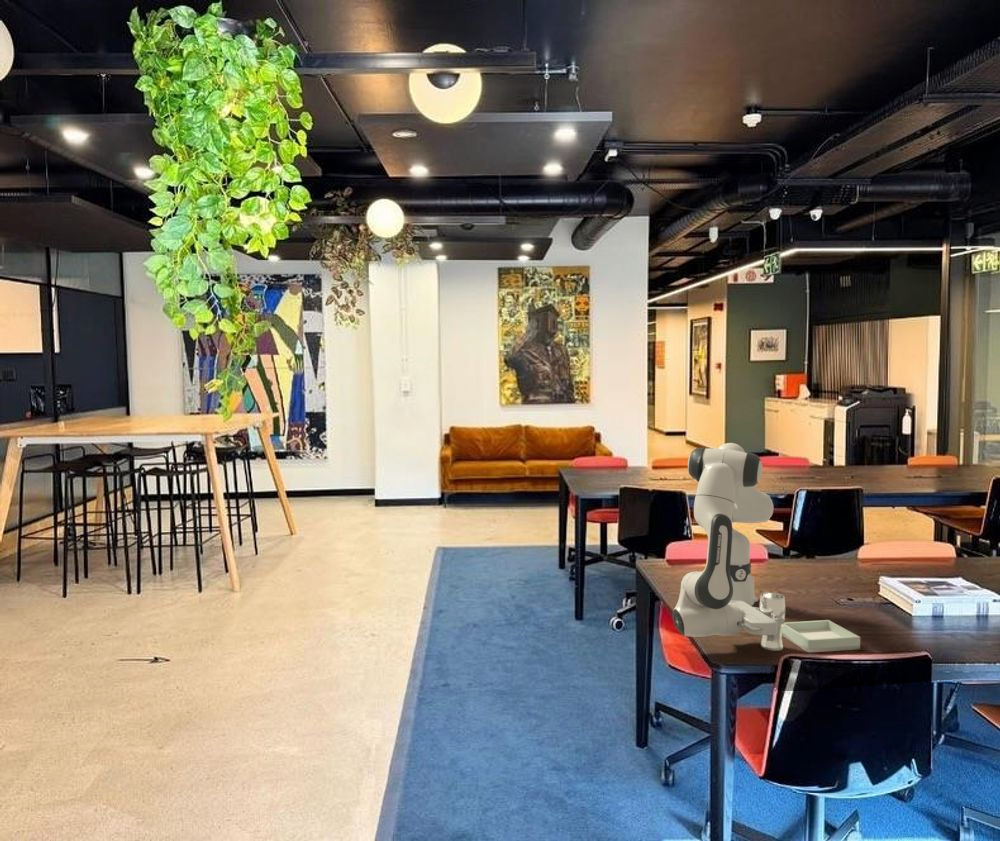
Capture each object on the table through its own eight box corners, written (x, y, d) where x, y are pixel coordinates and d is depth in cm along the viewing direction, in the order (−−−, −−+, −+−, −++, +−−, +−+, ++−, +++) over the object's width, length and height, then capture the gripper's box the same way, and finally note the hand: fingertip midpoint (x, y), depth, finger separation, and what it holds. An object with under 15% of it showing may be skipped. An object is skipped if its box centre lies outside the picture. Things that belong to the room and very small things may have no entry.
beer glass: (778, 642, 210) (779, 592, 210) (788, 651, 204) (789, 599, 203) (755, 643, 210) (755, 592, 210) (764, 651, 203) (765, 599, 203)
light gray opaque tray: (779, 634, 218) (780, 622, 217) (828, 631, 220) (828, 619, 220) (808, 652, 203) (808, 640, 203) (860, 649, 205) (860, 637, 205)
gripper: (748, 619, 194) (795, 616, 196) (714, 597, 214) (757, 595, 216) (747, 642, 194) (795, 639, 196) (714, 618, 215) (757, 615, 217)
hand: (775, 616), depth 207 cm, fingers closed on beer glass, 7 cm apart
